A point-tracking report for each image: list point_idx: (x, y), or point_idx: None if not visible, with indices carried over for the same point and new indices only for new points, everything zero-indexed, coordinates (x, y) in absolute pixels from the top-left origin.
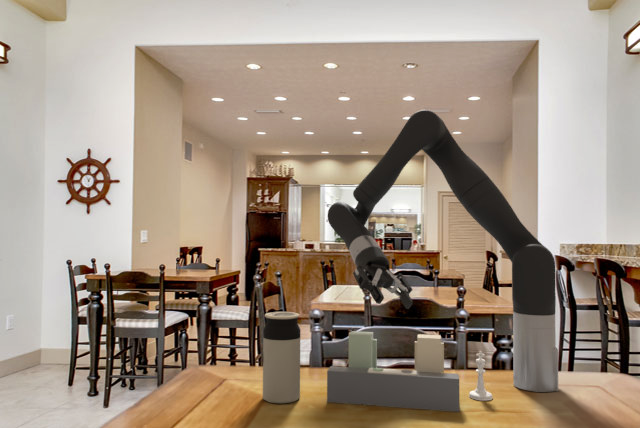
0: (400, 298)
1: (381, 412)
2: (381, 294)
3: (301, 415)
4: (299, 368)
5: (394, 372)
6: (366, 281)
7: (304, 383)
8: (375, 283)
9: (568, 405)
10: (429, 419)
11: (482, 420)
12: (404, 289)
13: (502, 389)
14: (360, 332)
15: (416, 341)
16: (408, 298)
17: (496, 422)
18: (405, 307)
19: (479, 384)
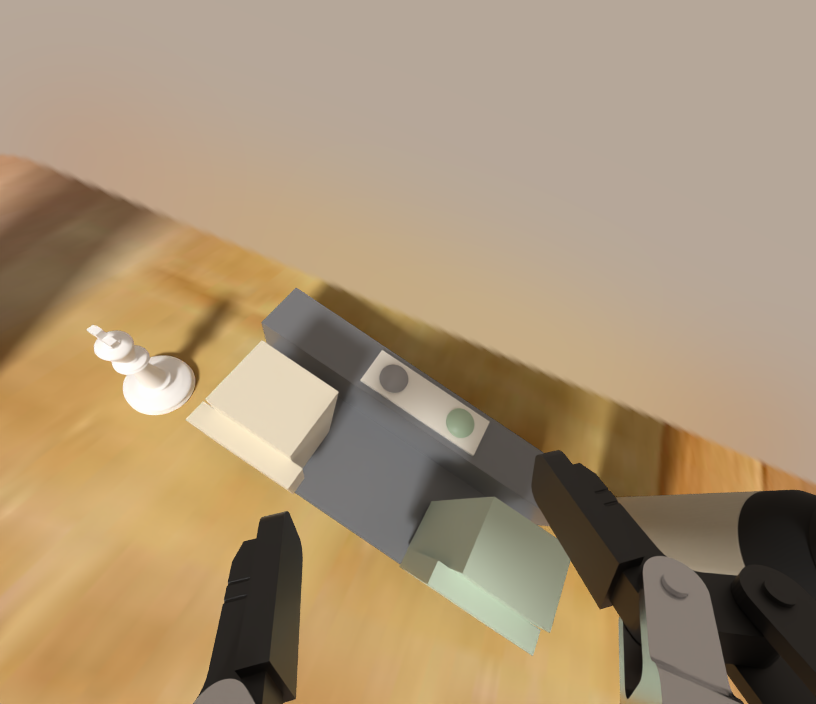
0: (295, 674)
1: (448, 383)
2: (564, 469)
3: (588, 423)
4: (647, 520)
5: (427, 385)
6: (766, 569)
7: (566, 683)
8: (663, 574)
9: (6, 256)
10: (380, 318)
11: (289, 276)
12: (246, 700)
13: (17, 421)
14: (519, 582)
15: (286, 478)
16: (281, 549)
17: (272, 259)
18: (301, 559)
19: (156, 369)
